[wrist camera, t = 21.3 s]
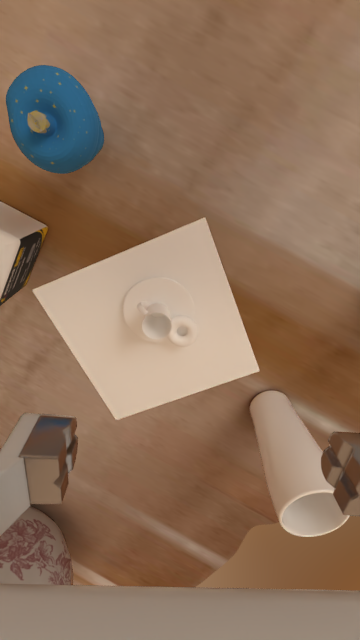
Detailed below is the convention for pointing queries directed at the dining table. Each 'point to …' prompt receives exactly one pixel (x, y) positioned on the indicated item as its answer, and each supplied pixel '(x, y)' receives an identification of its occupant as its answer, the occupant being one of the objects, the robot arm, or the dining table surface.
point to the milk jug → (34, 552)
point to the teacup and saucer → (152, 321)
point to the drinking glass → (293, 468)
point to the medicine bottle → (17, 249)
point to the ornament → (53, 119)
